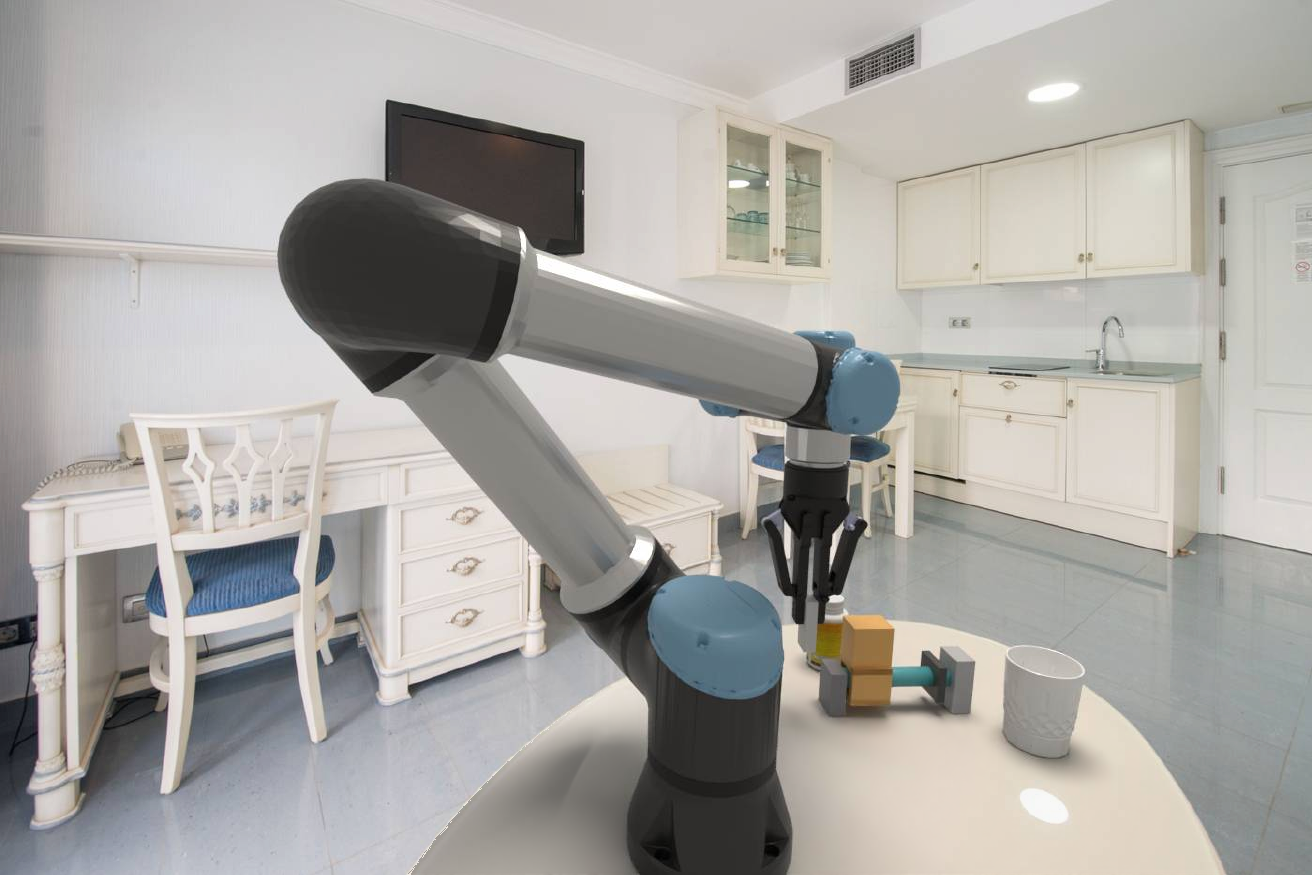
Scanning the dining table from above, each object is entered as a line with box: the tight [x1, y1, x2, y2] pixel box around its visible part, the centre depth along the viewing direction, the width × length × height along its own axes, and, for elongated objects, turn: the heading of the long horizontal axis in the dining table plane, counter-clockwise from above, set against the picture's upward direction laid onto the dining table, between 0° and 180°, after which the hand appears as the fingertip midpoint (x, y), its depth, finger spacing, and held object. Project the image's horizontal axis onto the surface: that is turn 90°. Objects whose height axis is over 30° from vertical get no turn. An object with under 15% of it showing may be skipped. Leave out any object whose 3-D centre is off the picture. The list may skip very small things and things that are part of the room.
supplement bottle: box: [805, 594, 850, 671], centre depth 92 cm, size 6×6×10 cm
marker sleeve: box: [839, 614, 896, 707], centre depth 81 cm, size 5×5×10 cm
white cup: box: [1002, 644, 1086, 759], centre depth 75 cm, size 8×8×10 cm
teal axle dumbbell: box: [818, 645, 976, 718], centre depth 81 cm, size 18×5×7 cm, turn 94°
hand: (806, 646), depth 80 cm, fingers closed
